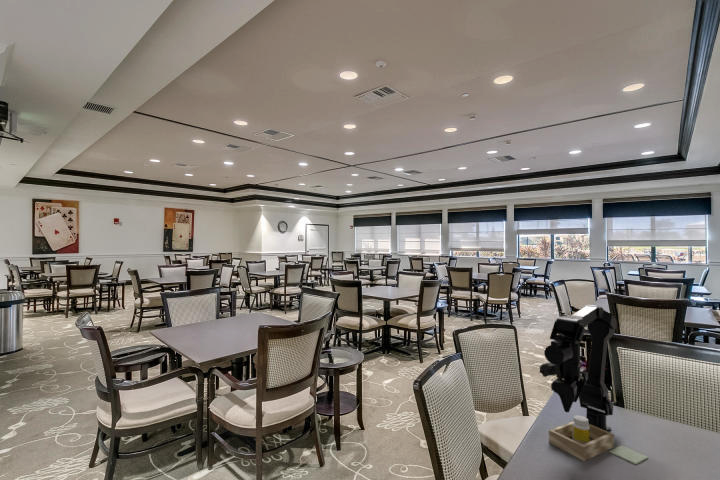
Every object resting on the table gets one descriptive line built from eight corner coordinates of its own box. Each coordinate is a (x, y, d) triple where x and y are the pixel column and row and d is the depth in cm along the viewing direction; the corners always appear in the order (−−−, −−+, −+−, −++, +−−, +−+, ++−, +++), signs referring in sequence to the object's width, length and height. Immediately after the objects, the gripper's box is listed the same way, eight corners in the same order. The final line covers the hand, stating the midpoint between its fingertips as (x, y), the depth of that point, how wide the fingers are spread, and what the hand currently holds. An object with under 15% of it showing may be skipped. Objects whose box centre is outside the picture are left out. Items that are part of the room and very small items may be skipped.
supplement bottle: (592, 450, 110) (592, 422, 110) (575, 448, 111) (575, 421, 111) (586, 441, 115) (586, 415, 115) (570, 440, 116) (569, 414, 116)
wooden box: (578, 431, 122) (578, 419, 122) (613, 447, 112) (613, 434, 112) (549, 442, 114) (548, 430, 114) (584, 461, 104) (584, 447, 104)
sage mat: (621, 446, 112) (621, 445, 112) (648, 458, 106) (647, 456, 106) (609, 452, 109) (609, 451, 109) (635, 464, 103) (635, 463, 103)
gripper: (550, 346, 125) (551, 390, 125) (532, 359, 112) (533, 409, 112) (587, 352, 118) (588, 399, 118) (573, 367, 104) (574, 421, 104)
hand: (570, 406), depth 113 cm, fingers open, 9 cm apart
